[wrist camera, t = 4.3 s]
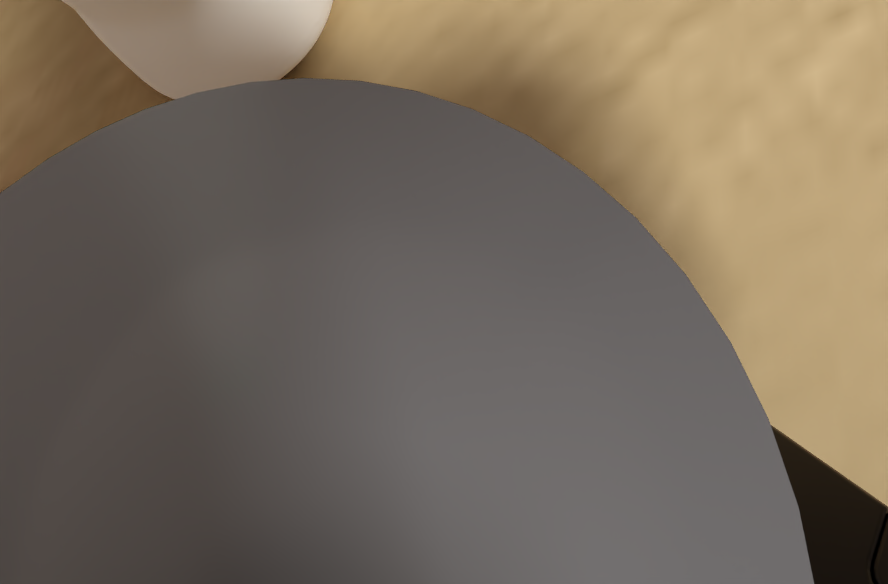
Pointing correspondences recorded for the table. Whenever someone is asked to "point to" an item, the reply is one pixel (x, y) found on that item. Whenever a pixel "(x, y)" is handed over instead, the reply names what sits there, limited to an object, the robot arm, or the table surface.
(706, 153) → the table surface
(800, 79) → the table surface
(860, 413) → the table surface
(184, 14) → the water bottle
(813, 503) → the robot arm
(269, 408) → the charcoal canister
